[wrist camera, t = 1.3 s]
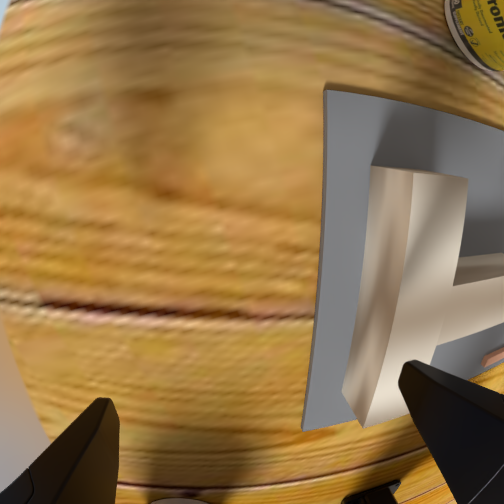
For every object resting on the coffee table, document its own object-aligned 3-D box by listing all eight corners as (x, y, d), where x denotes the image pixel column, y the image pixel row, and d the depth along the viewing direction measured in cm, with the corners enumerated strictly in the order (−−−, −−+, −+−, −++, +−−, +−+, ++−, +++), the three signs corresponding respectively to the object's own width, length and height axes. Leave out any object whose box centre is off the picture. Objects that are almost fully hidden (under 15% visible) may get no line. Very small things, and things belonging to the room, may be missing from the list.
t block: (472, 351, 18) (497, 373, 15) (341, 391, 16) (363, 428, 13) (511, 182, 14) (547, 192, 11) (370, 165, 12) (413, 172, 9)
